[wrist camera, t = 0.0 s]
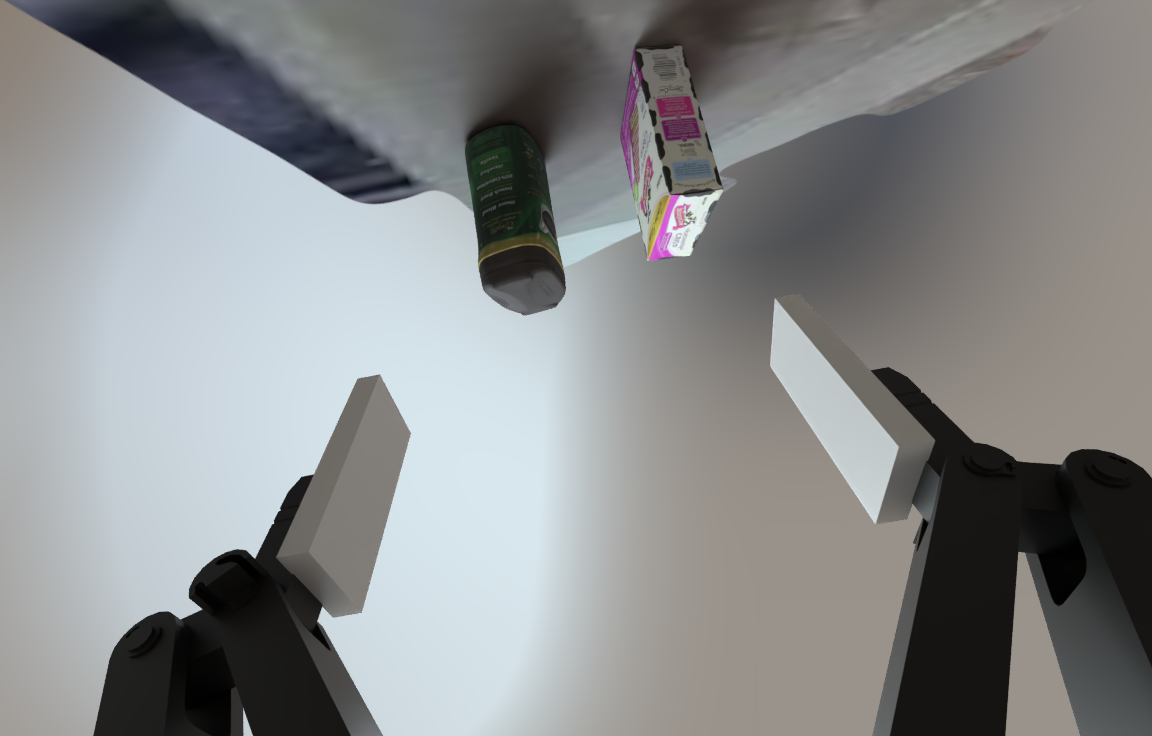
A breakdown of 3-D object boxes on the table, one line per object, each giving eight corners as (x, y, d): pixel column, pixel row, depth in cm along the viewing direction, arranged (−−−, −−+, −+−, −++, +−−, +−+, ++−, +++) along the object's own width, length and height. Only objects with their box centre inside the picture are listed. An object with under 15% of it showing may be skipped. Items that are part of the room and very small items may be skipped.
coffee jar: (451, 137, 53) (469, 294, 47) (520, 110, 51) (547, 270, 45) (492, 190, 62) (511, 327, 56) (552, 168, 60) (578, 308, 54)
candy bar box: (629, 46, 46) (669, 194, 41) (682, 41, 46) (727, 187, 41) (616, 137, 57) (646, 263, 52) (659, 132, 57) (693, 257, 52)
